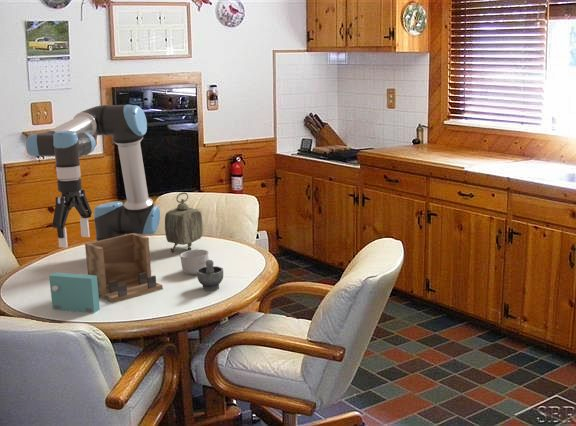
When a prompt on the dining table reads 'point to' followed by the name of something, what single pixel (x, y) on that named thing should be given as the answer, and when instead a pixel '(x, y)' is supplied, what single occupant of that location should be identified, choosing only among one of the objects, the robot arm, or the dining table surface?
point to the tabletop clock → (183, 224)
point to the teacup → (193, 260)
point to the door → (74, 292)
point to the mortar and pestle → (210, 276)
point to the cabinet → (121, 267)
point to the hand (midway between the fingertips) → (74, 241)
